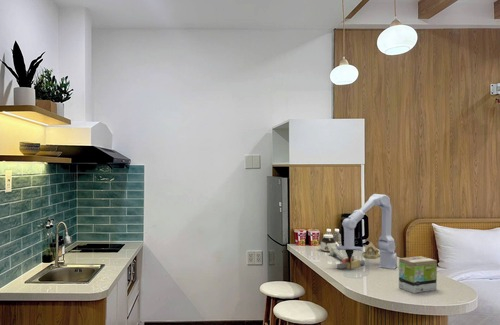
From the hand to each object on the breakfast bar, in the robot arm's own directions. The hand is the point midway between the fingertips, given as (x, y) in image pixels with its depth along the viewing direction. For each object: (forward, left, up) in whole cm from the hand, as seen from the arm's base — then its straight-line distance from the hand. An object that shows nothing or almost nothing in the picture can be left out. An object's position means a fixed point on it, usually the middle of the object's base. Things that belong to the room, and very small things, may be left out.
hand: (349, 262), depth 216 cm
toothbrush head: (+13, -23, -5) cm, 26 cm away
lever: (+1, -2, 0) cm, 3 cm away
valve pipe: (+1, -7, -4) cm, 8 cm away
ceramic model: (-3, -42, -5) cm, 42 cm away
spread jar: (+25, -42, -4) cm, 49 cm away
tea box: (-38, +17, -4) cm, 42 cm away
